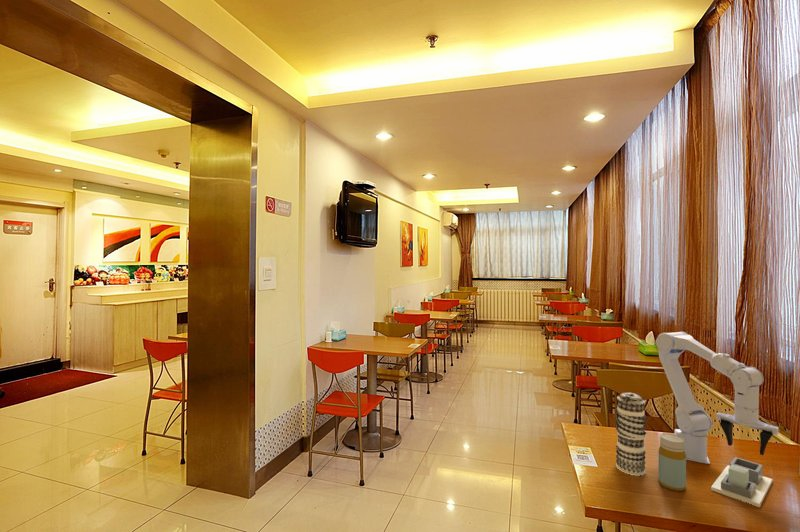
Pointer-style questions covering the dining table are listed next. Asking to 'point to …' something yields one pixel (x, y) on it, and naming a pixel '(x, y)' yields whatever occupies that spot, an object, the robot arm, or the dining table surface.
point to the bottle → (672, 462)
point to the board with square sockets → (756, 483)
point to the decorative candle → (630, 434)
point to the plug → (738, 476)
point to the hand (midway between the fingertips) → (745, 449)
